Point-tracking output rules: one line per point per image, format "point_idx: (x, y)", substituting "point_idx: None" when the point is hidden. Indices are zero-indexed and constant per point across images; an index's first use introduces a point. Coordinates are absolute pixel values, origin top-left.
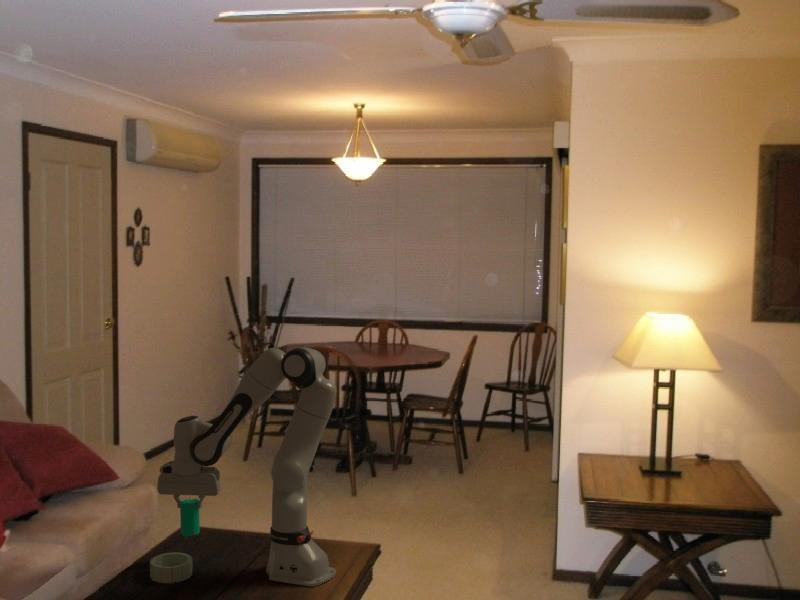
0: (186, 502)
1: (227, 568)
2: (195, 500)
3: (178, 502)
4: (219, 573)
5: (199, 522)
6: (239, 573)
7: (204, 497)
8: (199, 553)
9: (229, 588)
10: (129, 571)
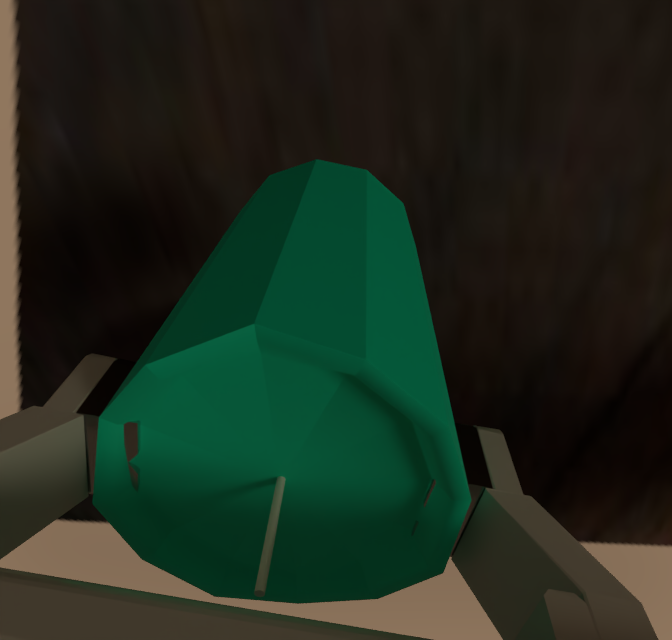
0: (216, 461)
1: (569, 313)
2: (384, 397)
3: (71, 499)
4: (519, 371)
5: (425, 291)
6: (627, 375)
7: (620, 591)
8: (382, 48)
9: (555, 507)
10: (28, 331)
